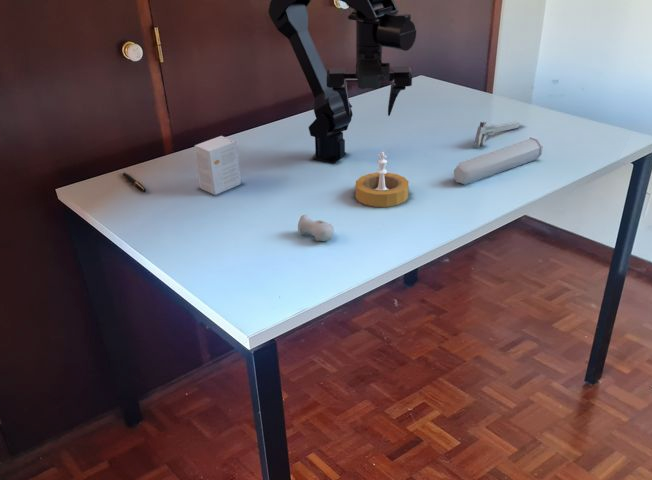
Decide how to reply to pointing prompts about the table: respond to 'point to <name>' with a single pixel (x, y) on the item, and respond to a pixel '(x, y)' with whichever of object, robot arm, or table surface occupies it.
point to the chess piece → (382, 172)
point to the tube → (498, 161)
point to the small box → (218, 165)
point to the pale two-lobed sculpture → (315, 228)
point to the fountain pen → (134, 182)
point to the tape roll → (382, 198)
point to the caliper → (492, 131)
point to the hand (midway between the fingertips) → (368, 115)
